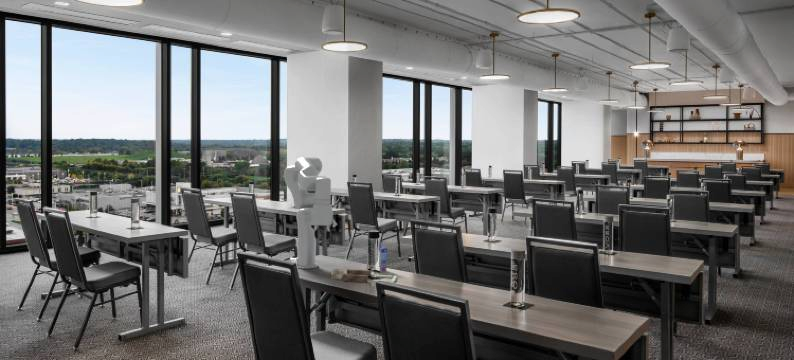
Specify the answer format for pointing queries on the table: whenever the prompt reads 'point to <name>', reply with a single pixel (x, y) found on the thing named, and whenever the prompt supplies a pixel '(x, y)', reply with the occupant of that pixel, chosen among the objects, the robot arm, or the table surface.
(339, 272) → the birch block
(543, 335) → the table surface
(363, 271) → the corridor
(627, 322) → the table surface
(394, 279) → the frame
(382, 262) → the ink cartridge box
